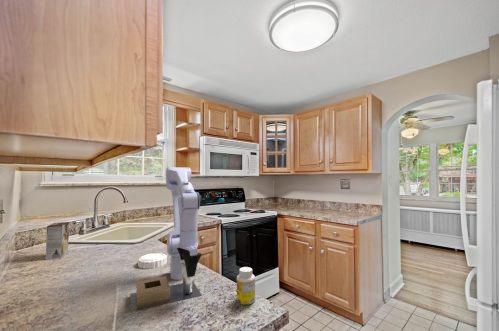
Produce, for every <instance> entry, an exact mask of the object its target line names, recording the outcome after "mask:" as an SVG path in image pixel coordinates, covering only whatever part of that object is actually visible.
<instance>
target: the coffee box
mask: <svg viewBox="0 0 499 331" xmlns="http://www.w3.org/2000/svg"><path fill="white" fill-rule="evenodd" d="M69 229H70V221H65V222H63V221H60V222H53V223H51V224H49V225H47V226H46V244H45V245H46V246H45V247H46V248H45V260H46V261H49V260H50V261H52V260H59V259H62V258H64V257H65V256H66V255H67V254H69V235H70V234H69V231H70V230H69ZM51 259H52V260H51Z"/></svg>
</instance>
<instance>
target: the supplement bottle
mask: <svg viewBox="0 0 499 331" xmlns="http://www.w3.org/2000/svg"><path fill="white" fill-rule="evenodd" d="M238 273H239V274H237V276H236V302H237V303H238V304H239V305H241V306H250V305H253V304H254V303H256V276H255V275H254V274H253V268H251V267H248V266H243V267H240V268H239V271H238Z"/></svg>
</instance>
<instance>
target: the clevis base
mask: <svg viewBox="0 0 499 331" xmlns="http://www.w3.org/2000/svg"><path fill="white" fill-rule="evenodd" d="M135 283H136V285H135V292H133V293H132V292H131V293H130V313H134V312H139V311H143V310H146V309H147V310H148V309H152V308H157V307H159V306H163V305H169V304H173V303H177V302H181V301H185V300H189V299H190V300H191V299H194V298H199V297H203V295H202V293H201V291H200V290H199V289H198V287H197V285H196V284H195V282H194V280H192V287H193V292H191V293H188V294H184V293H183V282H182V283H178V284H173V285H170V284H169V281H168V279H167V276H166V275H165V276H161V277H153V278H150V279H145V280H138V281H135Z"/></svg>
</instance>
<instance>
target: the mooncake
mask: <svg viewBox="0 0 499 331" xmlns="http://www.w3.org/2000/svg"><path fill="white" fill-rule="evenodd" d="M166 264H168V255H167V254H165V253H162V252H157V253H154V252H152V253H147V254H144V255H142V256H140V257H139V258H138V259H137V266H138V267H137V268H140V269H144V270H150V269H157V268H159V267H163V266H165V265H166Z"/></svg>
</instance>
